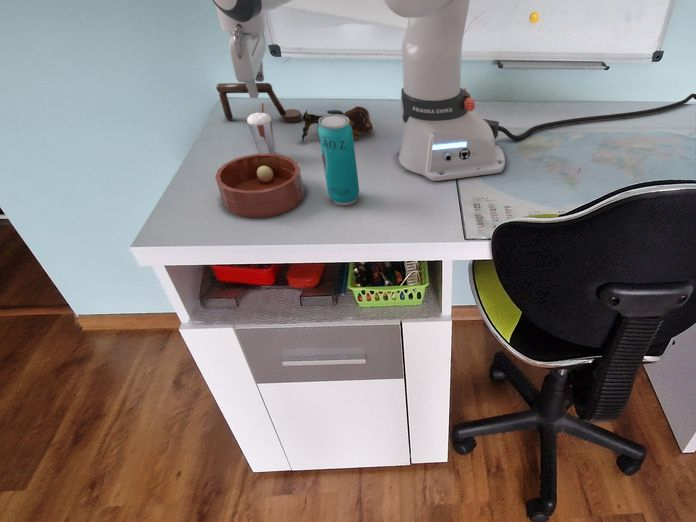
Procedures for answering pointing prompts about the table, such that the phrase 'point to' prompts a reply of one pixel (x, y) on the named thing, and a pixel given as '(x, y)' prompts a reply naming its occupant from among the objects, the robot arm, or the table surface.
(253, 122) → the milkshake
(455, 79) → the robot arm
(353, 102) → the table surface
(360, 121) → the figurine
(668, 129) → the table surface
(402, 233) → the table surface
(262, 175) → the ball
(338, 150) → the beverage can
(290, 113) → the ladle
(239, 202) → the bowl
